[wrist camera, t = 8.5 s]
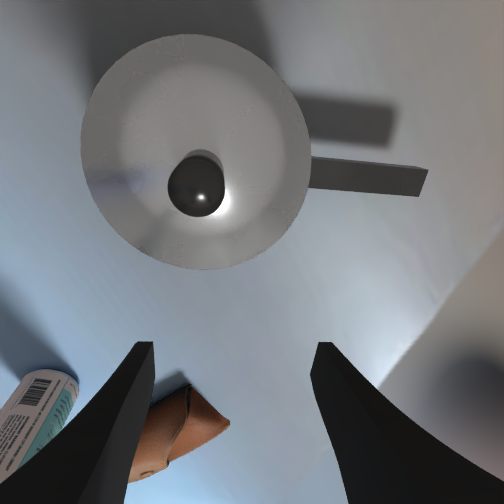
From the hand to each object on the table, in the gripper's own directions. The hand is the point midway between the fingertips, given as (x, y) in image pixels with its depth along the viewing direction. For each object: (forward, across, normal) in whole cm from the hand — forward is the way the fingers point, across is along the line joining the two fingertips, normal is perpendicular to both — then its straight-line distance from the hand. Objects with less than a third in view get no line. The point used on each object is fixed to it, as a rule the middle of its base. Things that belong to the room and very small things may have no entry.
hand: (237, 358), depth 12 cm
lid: (+6, +2, -7) cm, 10 cm away
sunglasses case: (+11, +8, +23) cm, 26 cm away
